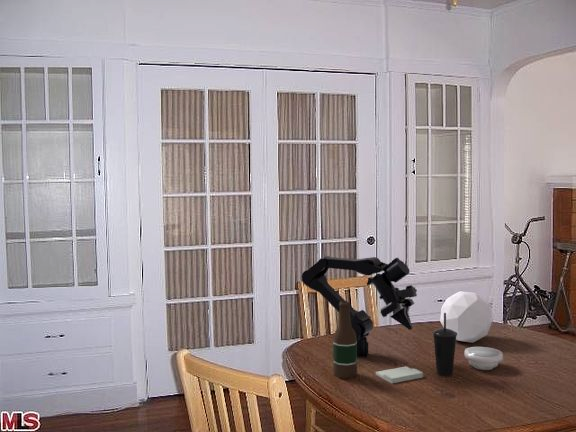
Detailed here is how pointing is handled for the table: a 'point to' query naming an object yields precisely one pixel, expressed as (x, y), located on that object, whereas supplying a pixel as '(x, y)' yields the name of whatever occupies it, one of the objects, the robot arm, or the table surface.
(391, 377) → the napkin
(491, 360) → the bowl
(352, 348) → the beer bottle
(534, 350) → the table surface
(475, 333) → the ball
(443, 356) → the drinking cup
